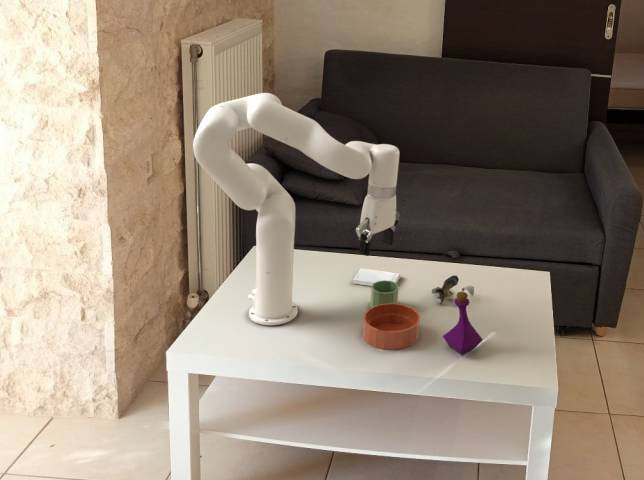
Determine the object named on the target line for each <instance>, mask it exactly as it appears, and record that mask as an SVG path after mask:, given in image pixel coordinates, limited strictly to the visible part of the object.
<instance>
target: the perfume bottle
mask: <svg viewBox="0 0 644 480" xmlns="http://www.w3.org/2000/svg"><path fill="white" fill-rule="evenodd" d="M465 291H467V292H468V293H469V295H470V296H471V297H474V295H475V286H474V285H466V286H465V287H462V288H461V291H459V292H457V293H456V298H455V299H454V300H453V303H454V305H455V306H457V308H458V311H459V318H458V321H457V323H456V325H454V326H453V327H452V328H451V329H450V330H449V331H447V332H446V333H444V334H443V336H442V338H443V340H444V341H445V342H446V343H447V345H448V346H449V348H451V349H452V350H453V351H454V352H456V353H458V354H459V355H461V356H462V355H463V356H464V355H466V354H468V353H470V352H472V351H474V350H475V349H476V348H477V347H478V346H479V345H480V344H481V343H482V342H483V341H484V340H483V338H482V336H481V335H480V334H479V333H478V331H477V330H476V329H475V327H474V326H473V325H472V324H471V321H470V320H469V315H468V312H467V307H468V306H469V305H470V299H469V298H468V296H469V295H468V293H467V292H465Z"/></svg>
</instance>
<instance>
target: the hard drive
mask: <svg viewBox="0 0 644 480" xmlns="http://www.w3.org/2000/svg"><path fill="white" fill-rule="evenodd" d="M400 278H401V273H397V272H391V271H385V270H377V269H371V268H363V267H360V269H358V271H357V273H356V275H355V276H354V277H353V279H352V284H353V285H360V286H361V285H362V286H368V287H372V285H373V283H375V282H377V281H383V280H386V281H392V282H395V283H397V284H398V282H399V280H400Z"/></svg>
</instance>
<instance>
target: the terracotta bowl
mask: <svg viewBox="0 0 644 480" xmlns="http://www.w3.org/2000/svg"><path fill="white" fill-rule="evenodd" d="M362 319H363V320H362V338H363V341H364V342H365V343H367V344H368V345H369V346H371V347H372V348H373V347H374V348H376V349H380V350H385V351H396V350H403V349H406V348H409V347H412V345H414V344H415V343H416V342H417V341H418V339H419V335H420V325H421V324H420V321H421V316H420V314H419V312H418V311H417V310H416V309H415V308H413V307H411V306H409V305H407V304H402V303H398V304H395V303H387V304H380V305H377V306H373V307H372V308H371V307H369V308H368V309H367V310H366V311H365V312H364V313H363V318H362Z"/></svg>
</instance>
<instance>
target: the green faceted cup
mask: <svg viewBox="0 0 644 480" xmlns="http://www.w3.org/2000/svg"><path fill="white" fill-rule="evenodd" d="M370 289H371V290H370V305H369V308H372V307H373V306H377V305H380V304H387V303H395V304H399V296H400V295H399V294H400V293H399V292H400V285H399V284H398V282H397V283H395V282H392V281H386V280H383V281H377V282H375V283H373V285H372V286H370Z"/></svg>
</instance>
